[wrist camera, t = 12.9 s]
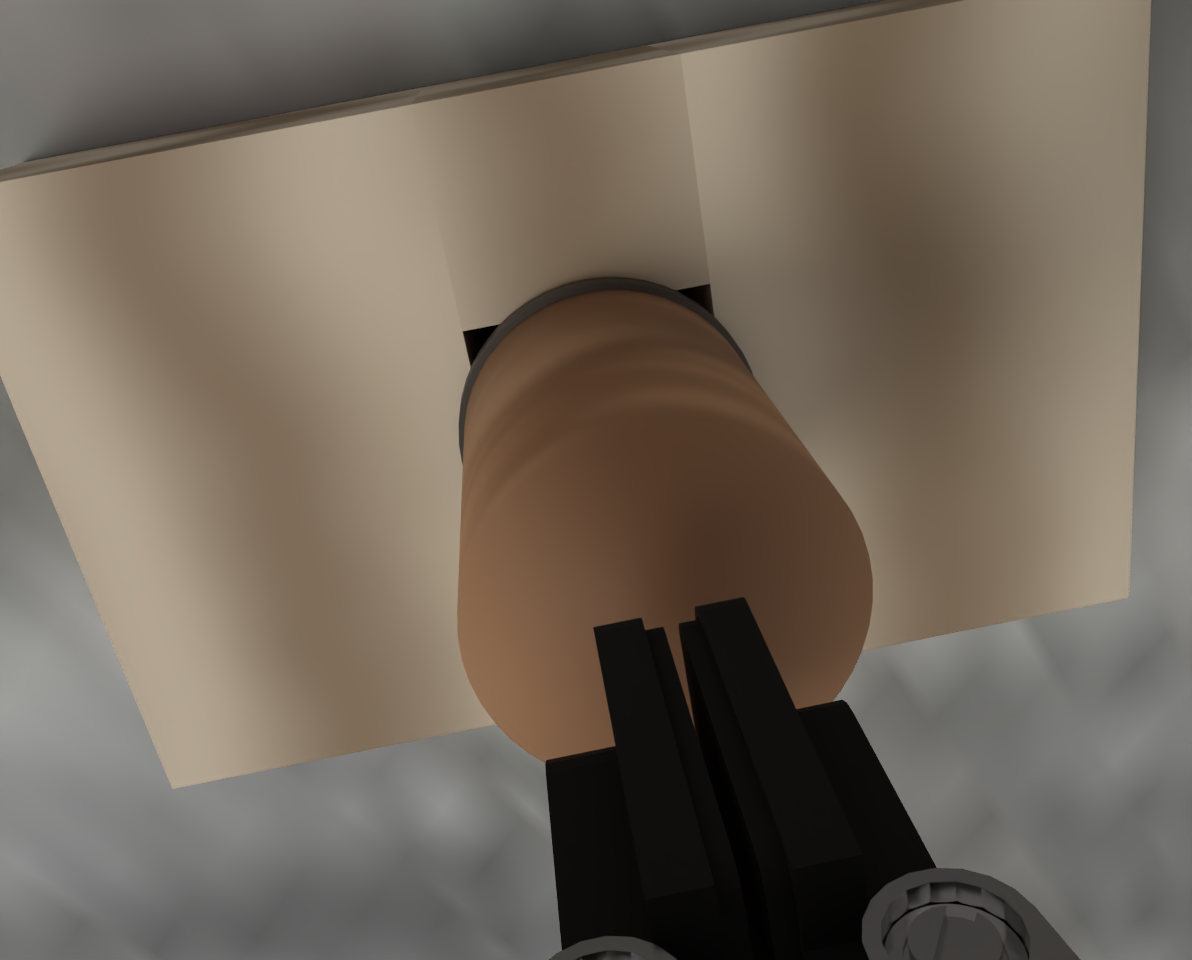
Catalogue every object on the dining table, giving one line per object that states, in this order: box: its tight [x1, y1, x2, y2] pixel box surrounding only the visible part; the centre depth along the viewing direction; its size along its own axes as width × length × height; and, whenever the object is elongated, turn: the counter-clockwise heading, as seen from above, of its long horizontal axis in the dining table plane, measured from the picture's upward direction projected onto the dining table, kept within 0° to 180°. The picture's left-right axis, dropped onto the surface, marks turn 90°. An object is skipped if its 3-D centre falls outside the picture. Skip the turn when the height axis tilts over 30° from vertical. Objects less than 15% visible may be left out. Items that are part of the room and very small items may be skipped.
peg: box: [457, 277, 873, 763], centre depth 19 cm, size 5×5×11 cm
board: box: [0, 0, 1151, 789], centre depth 22 cm, size 20×12×4 cm, turn 100°
